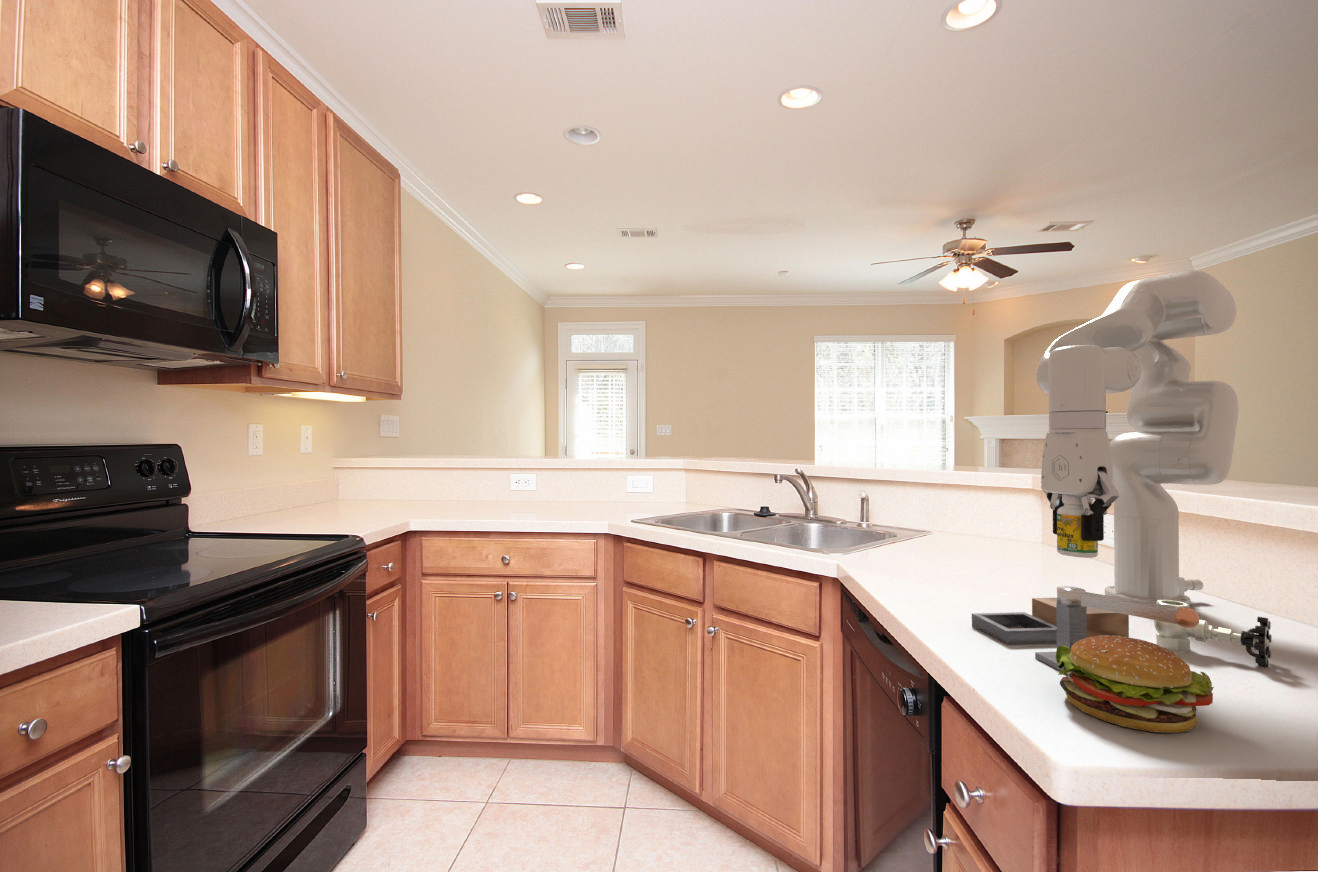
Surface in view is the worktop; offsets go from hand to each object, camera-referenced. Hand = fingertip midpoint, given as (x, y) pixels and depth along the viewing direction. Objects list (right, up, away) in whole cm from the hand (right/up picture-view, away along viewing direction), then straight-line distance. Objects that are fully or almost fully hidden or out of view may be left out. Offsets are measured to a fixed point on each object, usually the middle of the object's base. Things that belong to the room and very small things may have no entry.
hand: (1077, 536), depth 96 cm
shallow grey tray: (-11, -15, -2) cm, 19 cm away
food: (-13, -15, -28) cm, 34 cm away
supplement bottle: (0, -3, 0) cm, 3 cm away
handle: (-8, -7, -19) cm, 22 cm away
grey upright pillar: (-11, -15, -15) cm, 24 cm away
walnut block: (0, -15, 0) cm, 15 cm away
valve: (+11, -15, -11) cm, 22 cm away
